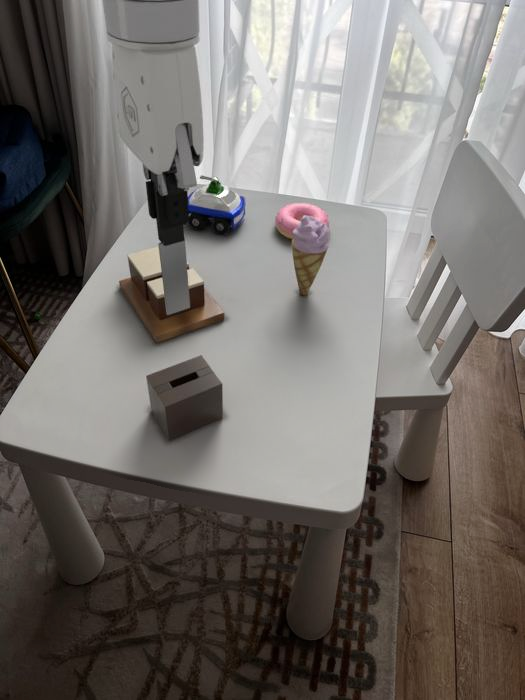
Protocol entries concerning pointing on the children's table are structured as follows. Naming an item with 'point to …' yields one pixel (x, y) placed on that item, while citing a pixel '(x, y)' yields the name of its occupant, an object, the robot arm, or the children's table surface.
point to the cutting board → (175, 323)
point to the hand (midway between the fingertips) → (169, 219)
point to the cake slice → (159, 300)
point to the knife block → (185, 397)
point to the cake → (145, 268)
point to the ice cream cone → (309, 250)
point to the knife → (172, 262)
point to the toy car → (215, 207)
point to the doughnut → (297, 217)
